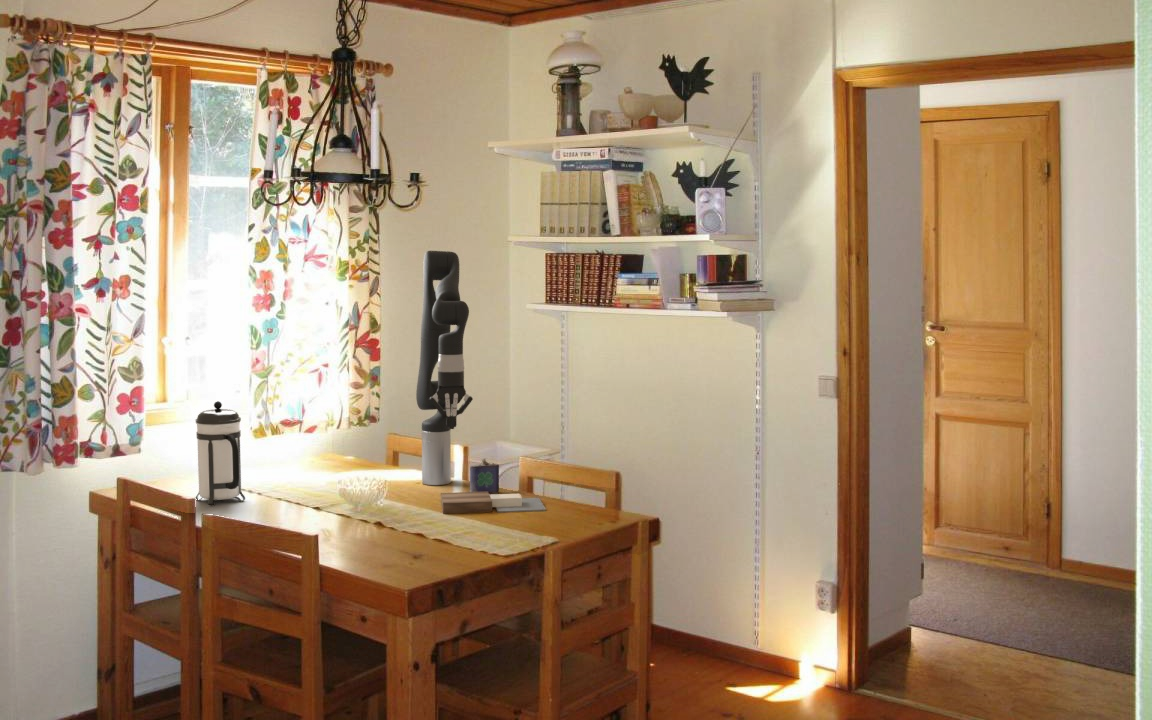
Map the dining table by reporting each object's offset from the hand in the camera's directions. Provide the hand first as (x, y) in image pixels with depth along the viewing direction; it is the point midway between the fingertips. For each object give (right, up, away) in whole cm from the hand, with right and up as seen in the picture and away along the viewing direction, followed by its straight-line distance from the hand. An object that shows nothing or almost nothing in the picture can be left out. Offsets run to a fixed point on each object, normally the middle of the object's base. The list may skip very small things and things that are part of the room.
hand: (451, 428), depth 321 cm
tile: (+16, -21, +3) cm, 27 cm away
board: (+4, -23, +1) cm, 23 cm away
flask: (+8, -22, +21) cm, 31 cm away
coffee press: (-69, -22, +8) cm, 73 cm away
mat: (+20, -23, +3) cm, 30 cm away
